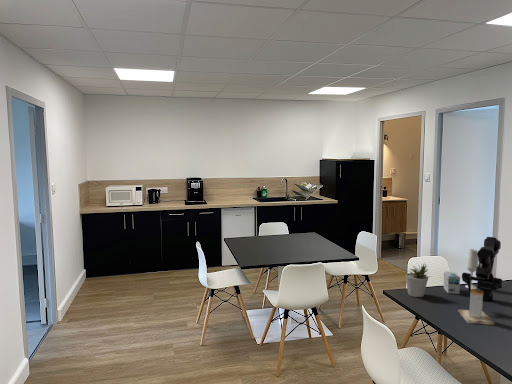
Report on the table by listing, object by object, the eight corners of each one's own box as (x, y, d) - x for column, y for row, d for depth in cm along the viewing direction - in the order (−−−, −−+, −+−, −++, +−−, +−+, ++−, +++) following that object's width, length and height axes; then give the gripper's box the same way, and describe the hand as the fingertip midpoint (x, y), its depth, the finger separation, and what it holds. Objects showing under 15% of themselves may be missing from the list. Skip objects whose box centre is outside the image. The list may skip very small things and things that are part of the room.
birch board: (482, 313, 205) (482, 310, 205) (494, 324, 192) (494, 321, 191) (458, 312, 207) (458, 309, 207) (468, 323, 193) (468, 320, 193)
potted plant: (419, 300, 223) (421, 266, 221) (400, 293, 235) (401, 261, 233) (433, 297, 230) (435, 263, 228) (413, 290, 241) (415, 258, 240)
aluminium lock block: (470, 313, 202) (472, 288, 201) (481, 315, 199) (483, 290, 198) (468, 316, 198) (470, 291, 197) (480, 318, 195) (481, 293, 194)
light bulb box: (459, 294, 235) (460, 276, 234) (447, 293, 236) (448, 276, 235) (454, 288, 245) (455, 271, 244) (442, 287, 246) (443, 271, 245)
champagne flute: (479, 289, 245) (481, 251, 242) (468, 288, 245) (470, 251, 243) (473, 285, 251) (475, 248, 249) (462, 285, 251) (465, 248, 249)
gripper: (463, 257, 213) (458, 282, 206) (503, 263, 202) (499, 290, 194) (465, 268, 220) (460, 293, 212) (504, 275, 209) (500, 301, 201)
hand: (479, 294), depth 205 cm, fingers open, 9 cm apart
